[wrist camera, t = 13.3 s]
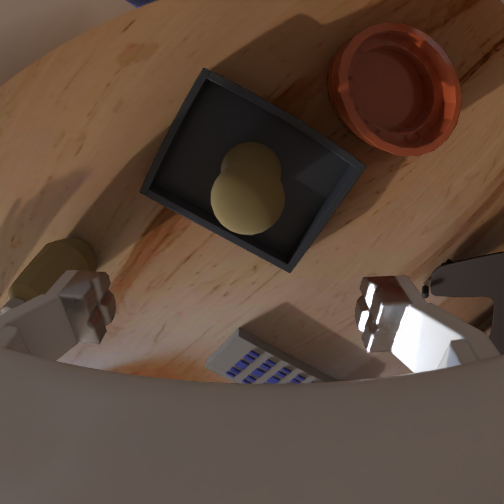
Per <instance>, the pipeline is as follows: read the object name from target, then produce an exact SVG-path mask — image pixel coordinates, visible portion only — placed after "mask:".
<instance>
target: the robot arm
mask: <svg viewBox="0 0 504 504" xmlns="http://www.w3.org/2000/svg"><path fill="white" fill-rule="evenodd" d="M110 285H111V283H110V279H109V276H108V274H107V273H106V272H97V271H82V270H81V271H80V270H66V271H65V273H64V274H63V275H62V276H61V277H60V278H59V279H58V280H57V281H56V282H55V284H54V285H53V286H52V287H51V288H50V289H49V290H48V292H47V293H46V294H41V295H39V296H37V297H35V298H33V299H31V300H29V301H27V302H25V303H23V304H21V305H19V306H17V307H15V308H13V309H11V310H9V311H7V312H5V313H3V314H1V315H0V504H504V354H503V355H501V354H500V353H499V351H498V350H497V348H496V347H495V345H494V344H493V343H492V341H491V340H490V338H489V337H488V335H487V334H486V333H484V332H482V331H480V330H479V329H477V328H475V327H474V326H472V325H470V324H468V323H466V322H465V321H463V320H461V319H459V318H458V317H456V316H454V315H452V314H450V313H449V312H447V311H445V310H443V309H441V308H440V307H438V306H436V305H434V304H432V303H427V302H426V301H425V299H424V298H423V296H422V295H421V294H420V292H419V291H418V289H417V288H416V287H415V285H414V284H413V282H412V281H411V280H410V278H409V277H408V276H406V275H401V276H380V277H363V279H362V281H361V285H360V290H361V293H362V296H361V297H360V298H359V299H358V300H357V303H356V308H355V319H356V324H357V327H358V329H359V330H361V331H362V332H363V335H362V340H363V343H364V346H365V348H366V351H367V353H369V352H386V351H392V353H393V354H394V355H395V356H396V357H397V358H398V359H399V360H401V361H402V362H403V363H404V364H405V365H406V366H407V367H408V368H410V369H411V370H412V371H413V372H414V373H410V374H403V375H396V376H388V377H380V378H370V379H360V380H349V381H335V382H317V383H287V384H249V383H218V382H200V381H186V380H174V379H164V378H154V377H146V376H138V375H130V374H123V373H117V372H110V371H104V370H98V369H93V368H87V367H82V366H77V365H72V364H67V363H62V362H58V361H56V360H57V359H59V358H60V357H61V356H62V355H64V354H65V353H66V352H67V351H69V350H70V349H71V348H73V347H74V346H75V345H76V344H78V342H83V343H91V344H100V343H101V341H102V339H103V337H104V335H105V333H106V332H107V330H106V327H105V326H106V325H108V324H109V323H111V322H112V320H113V318H114V316H115V311H116V303H115V298H114V295H113V294H112V293H111V292H110V290H109V287H110Z"/></svg>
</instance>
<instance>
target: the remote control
mask: <svg viewBox="0 0 504 504" xmlns="http://www.w3.org/2000/svg"><path fill="white" fill-rule="evenodd" d="M206 368H207V369H209V370H211V371H213V372H215V373H217V374H219V375H221V376H223V377H225V378H227V379H229V380H231V381H233V382H235V383H249V384H287V383H317V382H335V381H337V380H335V379H333V378H331V377H329V376H327V375H325V374H323V373H322V372H320V371H318V370H316V369H314V368H312V367H310V366H308V365H306V364H304V363H302V362H300V361H299V360H297V359H295V358H293V357H291V356H289V355H287V354H285V353H284V352H282V351H280V350H278V349H276V348H274V347H273V346H271V345H269V344H267V343H265V342H264V341H262V340H260V339H258V338H257V337H255V336H253V335H251V334H250V333H248V332H246V331H244V330H243V329H241V328H238V329H237V330H236V331H235V332H234V333H233V334H232V335H231V336H230V337H229V338H228V339H227V340H226V341H225V342H224V343H223V344H222V345H221V346H220V347H219V348H218V349H217V350H216V351H215V352H214V353H213V354H212V355H211V356H210V357H209V358H208V359H207V362H206Z"/></svg>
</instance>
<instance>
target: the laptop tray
mask: <svg viewBox="0 0 504 504" xmlns="http://www.w3.org/2000/svg"><path fill="white" fill-rule="evenodd" d="M430 285H431V286H430ZM428 286H430V287H431V293H432V294H433V295H435V296H447V297H480V296H485V297H490V298H491V299H492V300H493V302H494V309H493V319H492V327H491V333H490V336H489V338H490V340H491V341H492V343H493V344H494V345H495V347H496V348H497V350H498V351H499V353H500V354H501V355H503V354H504V252H498V253H493V254H488V255H483V256H478V257H473V258H469V259H464V260H460V261H456V262H452V261H451V260H450V259H448V260H447V261H446V262H445V263H442V264H441V266H439V267H437V268H436V269H435V270H434V272H433V273H432V277H431V279H429V280H426V281H425V282H424V283H423V287H422V296H423V298H427V297H428V296H429V287H428Z"/></svg>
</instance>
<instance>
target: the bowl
mask: <svg viewBox="0 0 504 504" xmlns="http://www.w3.org/2000/svg"><path fill="white" fill-rule="evenodd" d="M327 83H328V95H329V99H330V101H331V104H332V106H333V109H334V111H335V114H336V116H337V117H338V119H339V120H340V121H341V122H342V124H343V125H344V126H345V128H346V129H347V130H348V131H349V132H350V133H352V134H353V135H354V136H356V137H357V138H358V139H360V140H361V141H363V142H364V143H367V144H369V145H372V146H374V147H377V148H379V149H382V150H384V151H387V152H390V153H393V154H395V155H398V156H419V155H422V154H425V153H428V152H431V151H434V150H435V149H437V148H438V147H439V146H440V145H441V144H443V143H444V142H445V141H446V140H447V139H448V138H449V136H450V135H451V133H452V131H453V130H454V128H455V126H456V125H457V122H458V118H459V114H460V110H461V86H460V82H459V79H458V76H457V73H456V70H455V67H454V65H453V63H452V62H451V60H450V58H449V57H448V55H447V54H446V52H445V51H444V49H443V48H442V47H441V46H440V45H439V44H438V43H437V42H436V41H435V40H433V39H432V38H431V37H430V36H429V35H428V34H426V33H424V32H422V31H420V30H418V29H416V28H414V27H412V26H410V25H405V24H400V23H393V22H386V23H381V24H376V25H371V26H369V27H368V28H366V29H365V30H363V31H361V32H360V33H358V34H357V35H355V36H354V37H352V38H351V39H349V40H348V41H346V42H345V43H344V44H342V45H341V46H340V48H339V49H338V51H337V52H336V54H335V55H334V57H333V58H332V60H331V63H330V68H329V72H328V76H327Z"/></svg>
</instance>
